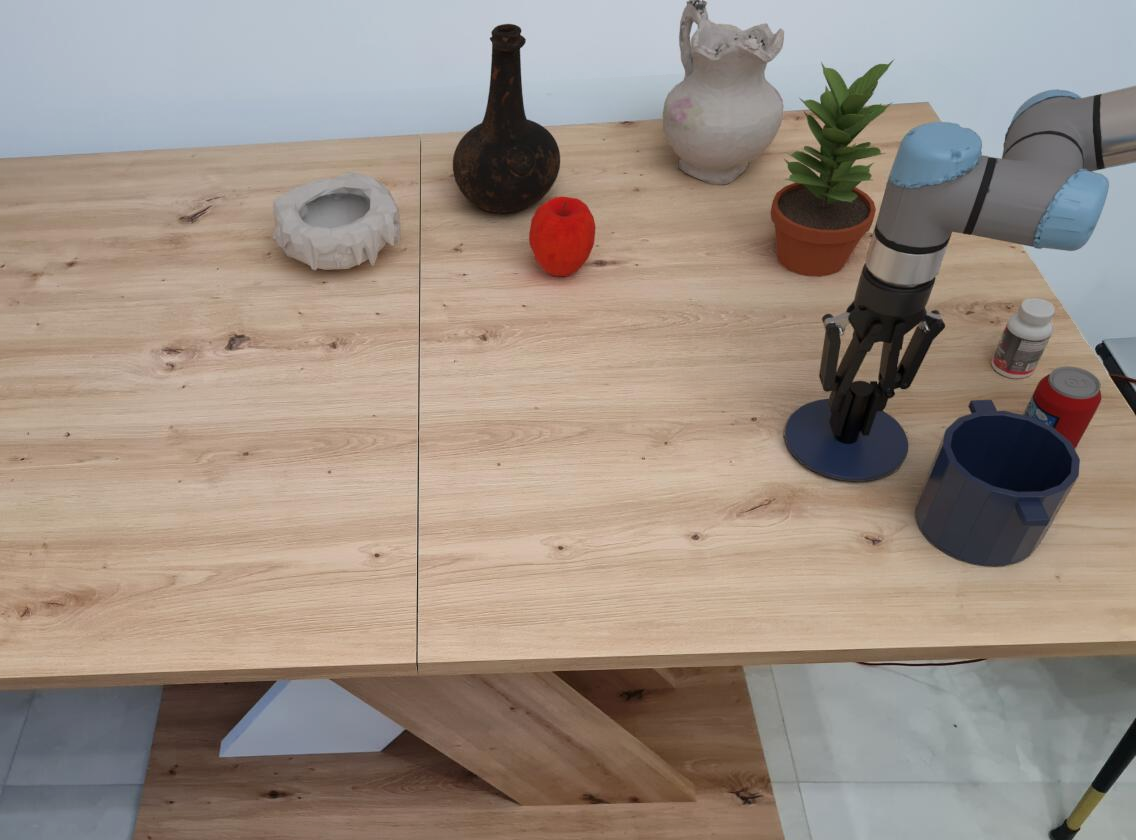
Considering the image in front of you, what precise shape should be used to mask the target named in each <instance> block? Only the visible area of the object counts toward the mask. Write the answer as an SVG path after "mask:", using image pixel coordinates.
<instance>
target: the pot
mask: <svg viewBox="0 0 1136 840" xmlns="http://www.w3.org/2000/svg"><path fill="white" fill-rule="evenodd" d="M967 407H968V409H969V412H970V413H969V414H966V415H963V416H960V417H958V418H957V419H955V421H953V422H952V423H951V424H950V425H949V426H948V427H947V428H946V429H945V430H944V433H943V435H942V437H941V441H940V443H939V445H938V448H937V450H936V453H935V455H934V457H933V460H932V462H931V465H930V467H929V470H928V471H927V475H926V477H925V479H924V482H923V484H922V486H921V489H920V492H919V494H918V496H917V500H916V504H915V507H914V518H915V522H916V525H917V527H918V529H919V531H920V532H921V534H922V535H923V537H925V539H926V540H927V541H928V542H929V543H930V544H931V545H932V546H934V547H935V548H936V549H937V550H939V551H940V552H942V553H943V554H945V555H947V556H949V557H951V558H953V559H955V560H958V561H960V562H964V563H966V564H970V565H975V566H980V567H991V568H993V567H996V568H997V567H1006V566H1012V565H1014V564H1018V563H1021V562H1022V561H1024V560H1026V559H1027V558H1029V557H1030V556H1031V555H1033V554H1034V552H1035V551H1036V550H1037V549H1038V547H1039V546H1040V545H1041V543H1042V542H1043V540H1044V538H1045V537H1046V535H1047V533H1048V531H1049V529H1050V527H1051V526H1052V524H1053V522H1054V520H1055V519H1056V517H1057V515H1058V514H1059V511H1061V509H1062V507H1063V505H1064V503H1065V502H1066V499H1067V498H1068V496H1069V494H1070V492H1071V491H1072V489H1073V487H1074V485H1075V483H1076V482H1077V480H1078V478H1079V476H1080V466H1081V458H1080V456H1079V455H1078V453H1077V451H1076V449H1074V447H1073V445H1072V443H1071V442H1070V441H1069V440H1068V439H1066V438H1065V437H1064V436H1063V435H1062V434H1060V433H1059V432H1058V431H1057V430H1056V429H1054V428H1053V427H1052V426H1049V425H1047V424H1045V423H1043V422H1041V421H1039V420H1037V419H1034V418H1032V417H1030V416H1026V415H1023V414H1021V413H1017V412H1013V411H1007V410H997V408H996V405H995V403H994V401H993V400H992V399H971V400H969V403H968V406H967Z"/></svg>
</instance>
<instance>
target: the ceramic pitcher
mask: <svg viewBox="0 0 1136 840" xmlns="http://www.w3.org/2000/svg"><path fill="white" fill-rule="evenodd" d="M685 3H686V5H685V7H684V8H683V11H682V14H681V18H680V21H679V23H680V24H679V34H678V45H679V51H680V61H681V64H682V66H683V69H684V77H683V80H682V81H680V82H679V83H677V84H675V86H673V88H672V89H671V90H670V91H669V92H668V93H667V95H666V97H665V101H664V104H663V105H664V106H663V110H662V129H663V132H664V136H665V138H666V141H667V143H668V145H669V146H670V148H671V150H672V151H673V152H674V154H675V155H676V156H677V157H678V158H679V160H678V167H677V168H678V169H679V170H681V171H682V172H684V173H686V174H687V175H689V176H691V177H693V178H694V179H695V178H696V179H698V180H700V181H703V182H705V183H707V184H710V185H722V186H725V185H727V184H731V183H732V182H733V181H734V180H735V179H736V178H738V177H739V176H740V175H742V174H743V173H744V172H745V171H746V170H747V168H749V163H751V162H752V161H754V160H756V159H757V158H758V157H759V156H760V155H762V154H764V153H765V151H766V150H767V149H768V148H769V147H770V145H771V144H772V143H773V141H774V140H775V138H776V136H777V134H778V133H779V130H780V127H781V125H782V121H783V117H784V100H783V98H782V97H781V94H780V92H779V91H778V90H777V89H776V87H775V86H774V85H772V84H771V83H770V82H769V81H768V80H767V78H766V76H765V75H766V74H765V72H766V70H767V69H766V68H767V65H768V63H770V62H772V61H773V60H774V59H775V58H777V56H778V55H779V54H780V52H781V51H782V49H783V47H784V40H785V31H784V29H782V28H779V29H778V30H777V31H776V32H775V33H773V31H772V30H771V27H770V26H769V24H768V23H760V24H757V25H753V26H751V27H749V28H746V29H744V30H742V29H741V28H739V27H738V26H736V25H733V24H728V23H715V22H713V21H711V20H710V19H709V13H708V10H707V4H708V1H706V0H687V1H686V2H685ZM693 24H696V25H697V29H696V30H695V32H694V33H693V34H692V36H691V32H692V28H693Z"/></svg>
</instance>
